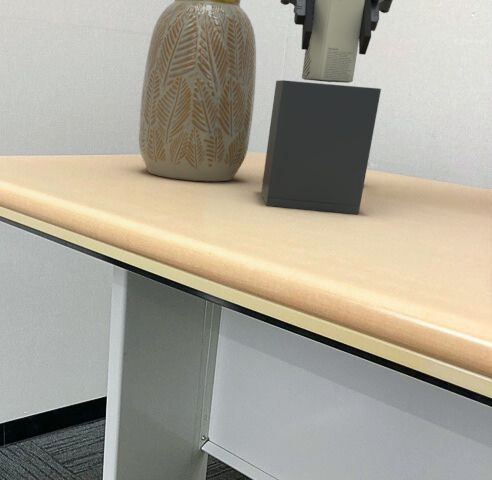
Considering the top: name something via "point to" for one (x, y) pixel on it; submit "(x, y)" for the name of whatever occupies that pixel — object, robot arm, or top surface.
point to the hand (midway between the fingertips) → (335, 42)
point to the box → (333, 40)
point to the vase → (198, 91)
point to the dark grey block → (319, 146)
